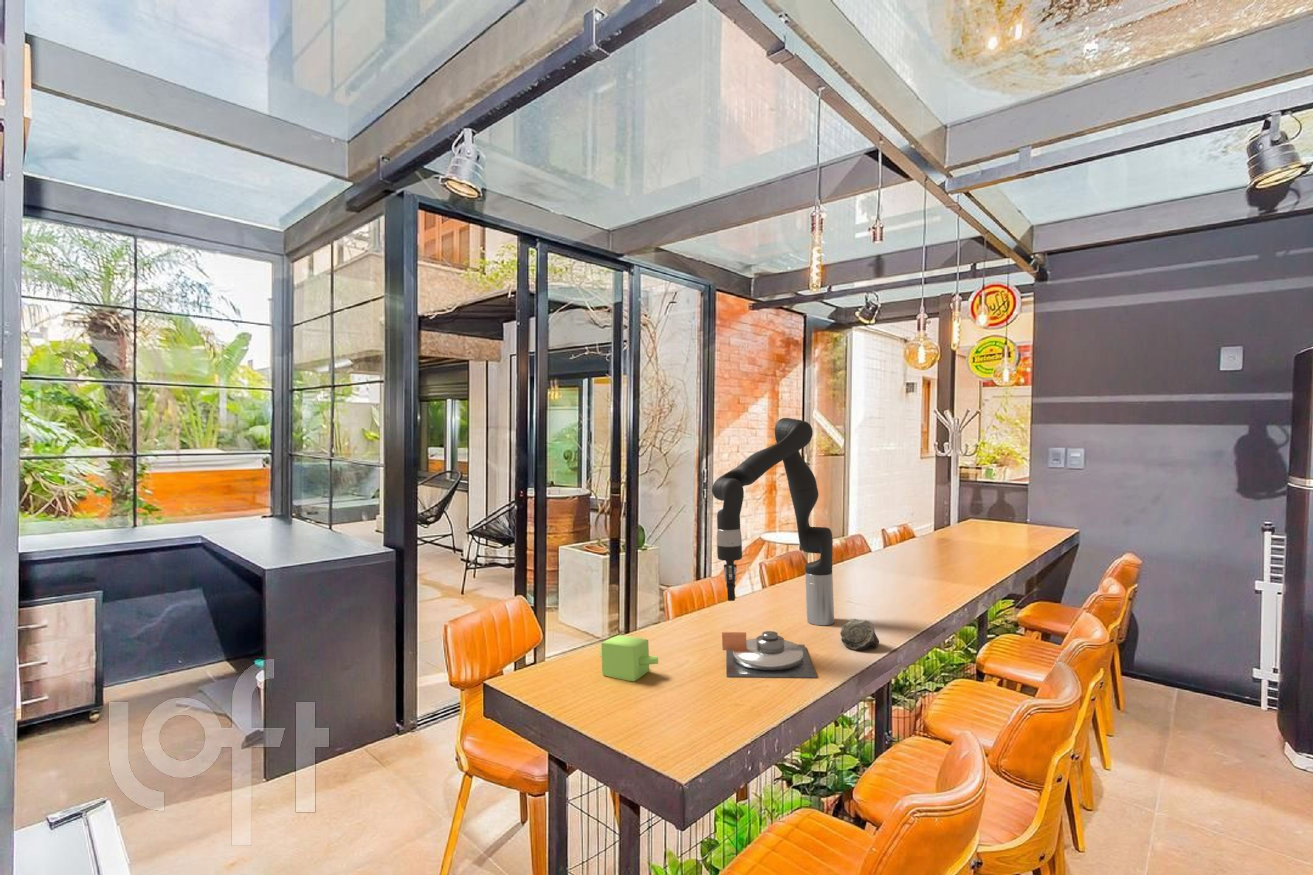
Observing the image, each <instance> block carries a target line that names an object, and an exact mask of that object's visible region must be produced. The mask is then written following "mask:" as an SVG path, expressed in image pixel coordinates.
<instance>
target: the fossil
mask: <svg viewBox="0 0 1313 875" xmlns="http://www.w3.org/2000/svg"><path fill="white" fill-rule="evenodd" d="M839 634H840V636H841V637H840V640H841V642H842V643H843V645H844V647H846V648H847V649H849V650H851V651H855V652H857V651H864V650H866V649H868V648H869V647H870V646H873V647H874V648H875V649H876V648H878V647H879V643H880V640H879V637H878V636H877V634H876V631H875V628H874V627H873V623H872V621H870V620H867V619H858V618H853V619H851V620H849V621H848V622H846V623H845V624H843V625H842V626H841V630H840V633H839Z"/></svg>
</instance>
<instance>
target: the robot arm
mask: <svg viewBox="0 0 1313 875" xmlns="http://www.w3.org/2000/svg"><path fill="white" fill-rule="evenodd" d="M813 434H814V431H813V428H812V425H811V424H810V423H809V422H808V421H805V420H802V419H796V418H790V417H783V418H780V419H778V420H777V422H776V424H775V426H774V438H775V439H774V440H775V441H776V443H775V444H773V445H770V446H768V447H766V448H763V449H760V450H759V451H756V452H754V453H753V454H751V455H749V457H747V458H746V459H745V460H743V461H742V462H741V463H740V464H739V465H738V466H737V467H735V468H733V469H730V470H729V471H727V472H726V473H724V474H722V475H720V476H719V477H718V478H717V479H715V481H714V482H713V484H712V487H711V493H712V495H713V497H714V498H715V499H716V500H718V501H721V502H722V501H723V504H722V508H721V509H720V510H718V511H717V514H716V526H717V529H716V530H717V532H716V533H717V534H716V546H717V547H716V551H717V554H716V556H717V559H718V560H719V561H723V562H726V563H725V564H723V572H724V581H725V582H726V585H725V586H726V589H727V590H726V591H727V594H726V595H727V601H728V602H734V601H736V593H735V592H736V590H735V589H736V582H737V571H738V568H737V567H738V566H737V564H735V561H739V560H742V558H743V542H742V541H743V540H742V539H743V538H742V532H741V512H742V507H743V502H744V494H745V491H744V487H746V486H750V485H752V484H753V483H755V482H756V481H757V480H758V479H759V478H761V477H762V476H763V475H764V474H765V473H767V471H769V470H770V469H772V468H773V467H775V466H776V465H777V464H779V463H780V462H782V463H783V467H784V470H785V476H786V478H787V484H788V485H787V486H788V488H789V493H790V498H791V502H792V505H793V509H794V515H795V520H796V526H797V527H796V530H797V535H798V542H799V546H800V548H801V550H802V551H803V552H804V553H809V554H819V555H820V557H819V559H817V560H814V561H810V562H808V563H806V564H805V566H804V574H805V576H804V577H805V597H806V598H805V599H806V621H807V622H808V623H809V624H811V625H816V626H830V625H834V623H835V610H834V609H835V607H834V606H835V605H834V604H835V603H834V582H833V581H834V580H833V579H834V578H833V563H834V562H833V560H834V559H833V542H834V540H833V533H832V530H831V528H829V527H826V526H825V527H824V526H823V527H822V526H810V522H809V518H810V516H811V513H812V511H813V509H814V507H815V505H816V503H817V501H818V498H819V488H818V484H817V481H816V477H815V475H814V473H813V471H812V469H811V468H810V466H809V465H808V464H807V462H806V461H805V460H804V458H803V456H802V454H801V452H800V450H802V449H804V448H805V447H806V446H808V445H809V444H810V442H811V440H812V438H813Z"/></svg>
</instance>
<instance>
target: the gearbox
mask: <svg viewBox="0 0 1313 875" xmlns="http://www.w3.org/2000/svg"><path fill="white" fill-rule="evenodd" d="M649 652H650V649H649V639H646V638H641V637H638V636H637V637H636V636H629V635H622V634H618V635H615V636H612V637H610V638H608V639H606V640H604V641H603V642H602V643H601V650H600V651H599V653H600V656H599V657H600V658H601V668H602V669H601V670H602V672H601V673H602V676H605V677H610V678H613V679H618V680H623V681H629V682H636V681H638V680H639V679H640V678H641V677H644V675H645V674H647V673H649V671H650V665H658V664H659V657H658V655H650V653H649Z"/></svg>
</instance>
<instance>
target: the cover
mask: <svg viewBox="0 0 1313 875" xmlns="http://www.w3.org/2000/svg"><path fill="white" fill-rule="evenodd" d="M755 639H756V646H757V651H759V652H761V653H764V654H779V653H782V652H784V640H785V638H784V637H783V636H780V635H779V634H778V632H776V631H773V630H766V631H763V632H762V633H761V635H759V636H757V637H756V638H755Z"/></svg>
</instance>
